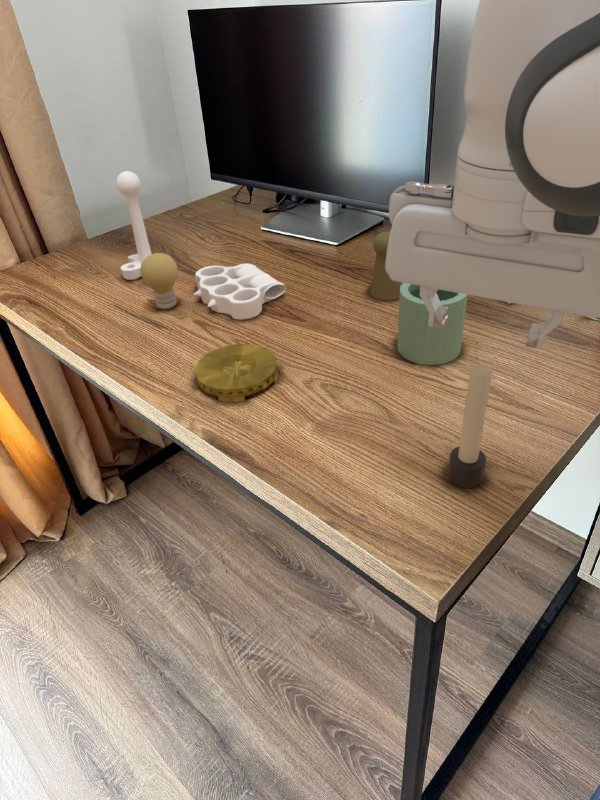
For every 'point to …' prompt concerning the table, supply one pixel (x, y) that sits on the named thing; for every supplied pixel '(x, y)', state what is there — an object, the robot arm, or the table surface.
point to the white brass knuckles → (237, 289)
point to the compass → (236, 371)
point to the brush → (472, 431)
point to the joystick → (134, 224)
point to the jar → (429, 327)
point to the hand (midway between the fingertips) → (484, 334)
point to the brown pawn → (383, 272)
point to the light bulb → (160, 278)
